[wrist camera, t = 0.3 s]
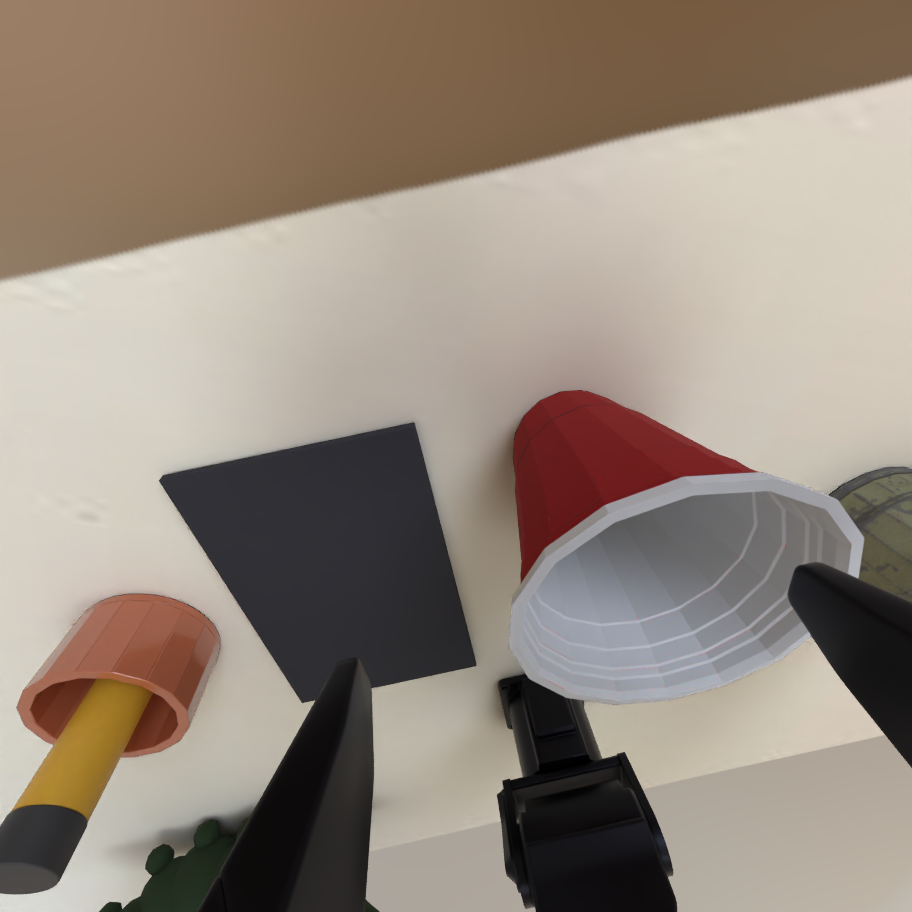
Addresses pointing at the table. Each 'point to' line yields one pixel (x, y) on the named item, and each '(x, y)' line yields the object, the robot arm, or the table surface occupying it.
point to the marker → (68, 788)
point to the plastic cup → (655, 556)
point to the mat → (333, 556)
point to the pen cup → (128, 668)
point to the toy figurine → (185, 874)
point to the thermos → (883, 526)
